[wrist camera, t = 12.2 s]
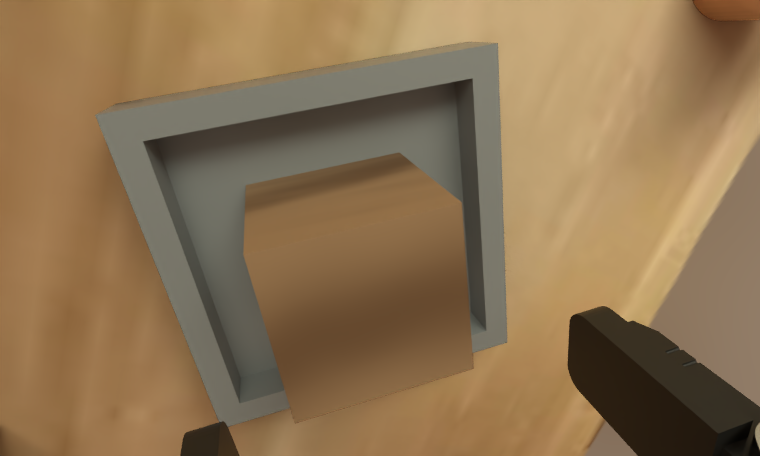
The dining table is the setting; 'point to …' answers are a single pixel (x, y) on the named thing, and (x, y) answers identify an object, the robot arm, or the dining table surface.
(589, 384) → the robot arm
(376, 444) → the dining table surface
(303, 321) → the walnut cube
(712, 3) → the peach rounded cylinder
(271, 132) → the tray
